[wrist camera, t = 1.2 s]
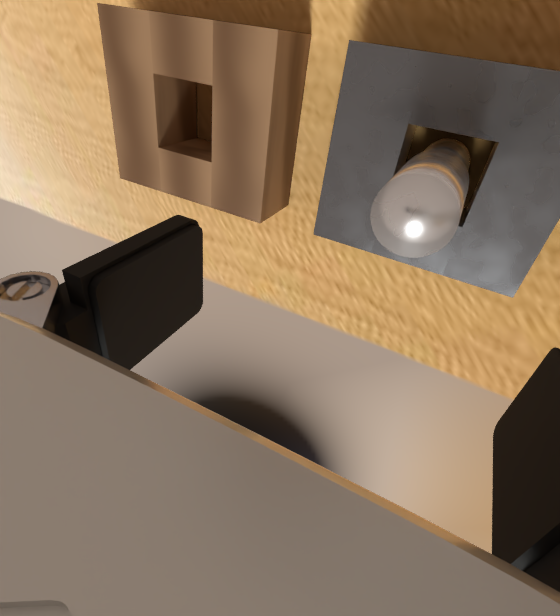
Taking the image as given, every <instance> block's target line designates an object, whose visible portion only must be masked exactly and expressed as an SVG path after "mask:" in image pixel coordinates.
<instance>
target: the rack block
mask: <svg viewBox="0 0 560 616" xmlns="http://www.w3.org/2000/svg"><path fill="white" fill-rule="evenodd" d="M97 5H98V13H99V20H100V28H101V35H102V43H103V51H104V58H105V66H106V73H107V81H108V89H109V96H110V104H111V112H112V119H113V127H114V134H115V142H116V150H117V157H118V165H119V172H120V178H121V179H125V180H128V181H131V182H134V183H137V184H140V185H143V186H146V187H149V188H152V189H155V190H159V191H162V192H165V193H168V194H171V195H174V196H177V197H180V198H183V199H186V200H190V201H193V202H196V203H199V204H202V205H205V206H208V207H211V208H214V209H217V210H220V211H224V212H227V213H230V214H233V215H236V216H239V217H242V218H245V219H248V220H251V221H255V222H258V223H262V222H263V221H265V220H266V219H268V218H269V217H271V216H272V215H274V214H275V213H277V212H278V211H280V210H281V209H283V208H284V207H286V206H287V205H288V203H289V195H290V188H291V180H292V173H293V166H294V158H295V151H296V143H297V136H298V129H299V121H300V114H301V106H302V99H303V92H304V84H305V77H306V69H307V62H308V55H309V47H310V40H311V34H305V33H298V32H292V31H285V30H278V29H271V28H264V27H258V26H251V25H244V24H237V23H230V22H224V21H217V20H210V19H203V18H196V17H190V16H183V15H176V14H169V13H162V12H156V11H149V10H142V9H135V8H128V7H121V6H114V5H107V4H100V3H97ZM196 82H198V83H202V84H207V85H212V142H211V141H207V140H203V139H199V138H197V95H196Z"/></svg>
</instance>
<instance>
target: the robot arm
mask: <svg viewBox="0 0 560 616" xmlns="http://www.w3.org/2000/svg"><path fill="white" fill-rule="evenodd" d="M62 272H63V276H64V279H65V282H64V283H62V284H60V285H59V283H58V280H57V279H56V278H55V277H54V276H53V275H51V274H49V273H44V272H36V271H30V272H20V273H16V274H12V275H9V276H6V277H4V278H1V279H0V616H560V349H559V348H556V347H555V348H553V349H551V351H550V352H549V353H548V354H547V356H546V357H545V358H544V360H543V361H542V362H541V364H540V365H539V367H538V368H537V369H536V371H535V372H534V373H533V375H532V376H531V377H530V379H529V380H528V382H527V383H526V384H525V386H524V387H523V388H522V390H521V391H520V392H519V394H518V395H517V397H516V398H515V399H514V401H513V402H512V403H511V405H510V406H509V407H508V409H507V410H506V412H505V413H504V414H503V416H502V417H501V418H500V420H499V421H498V423H497V425H496V427H495V430H494V435H493V508H492V511H493V512H492V554H490V553H488V552H486V551H485V550H483V549H481V548H479V547H477V546H475V545H473V544H471V543H469V542H467V541H465V540H464V539H462V538H460V537H458V536H456V535H454V534H452V533H450V532H448V531H447V530H445V529H443V528H441V527H439V526H437V525H435V524H433V523H431V522H429V521H428V520H425V519H424V518H422V517H420V516H418V515H416V514H414V513H412V512H410V511H408V510H406V509H404V508H402V507H401V506H399V505H397V504H395V503H393V502H390V501H389V500H387V499H385V498H383V497H381V496H379V495H377V494H375V493H373V492H371V491H369V490H367V489H365V488H363V487H361V486H359V485H357V484H355V483H353V482H351V481H349V480H347V479H345V478H343V477H341V476H339V475H337V474H336V473H334V472H332V471H330V470H328V469H326V468H323V467H322V466H320V465H318V464H316V463H314V462H312V461H310V460H308V459H306V458H304V457H302V456H300V455H298V454H296V453H294V452H292V451H290V450H288V449H286V448H284V447H282V446H280V445H278V444H276V443H274V442H272V441H270V440H268V439H266V438H264V437H262V436H260V435H258V434H256V433H254V432H252V431H250V430H248V429H246V428H244V427H243V426H241V425H238V424H237V423H234V422H232V421H231V420H229V419H227V418H225V417H222V416H220V415H218V414H217V413H215V412H213V411H210V410H208V409H206V408H204V407H202V406H200V405H199V404H197V403H195V402H192V401H190V400H189V399H187V398H185V397H183V396H181V395H178V394H177V393H175V392H172V391H171V390H169V389H167V388H165V387H162V386H160V385H158V384H156V383H154V382H152V381H150V380H148V379H146V378H144V377H142V376H140V375H138V374H136V373H134V372H132V371H130V369H131V368H133V367H134V366H135V365H136V364H137V363H139V362H140V361H141V360H142V359H143V358H145V357H146V356H147V355H148V354H149V353H151V352H152V351H153V350H154V349H155V348H157V347H158V346H159V345H160V344H161V343H162V342H164V341H165V340H166V339H167V338H168V337H170V336H171V335H172V334H173V333H174V332H176V331H177V330H178V329H179V328H180V327H182V326H183V325H184V324H185V323H186V322H187V321H189V320H190V319H191V318H192V317H193V316H195V315H196V314H197V313H198V312H199V311H200V309H201V307H202V304H203V233H202V229H201V228H200V227H199V225H198V222H197V221H196V220H193V219H190V218H187V217H184V216H181V215H176V216H173V217H171V218H169V219H167V220H165V221H163V222H161V223H159V224H157V225H155V226H153V227H151V228H149V229H146V230H144V231H142V232H140V233H138V234H136V235H134V236H132V237H130V238H128V239H126V240H124V241H121V242H119V243H117V244H115V245H113V246H111V247H109V248H107V249H105V250H103V251H101V252H99V253H97V254H95V255H92V256H90V257H88V258H86V259H84V260H82V261H80V262H78V263H76V264H74V265H71V266H69V267H67V268H65V269H63V270H62Z"/></svg>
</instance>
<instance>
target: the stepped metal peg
mask: <svg viewBox="0 0 560 616" xmlns="http://www.w3.org/2000/svg"><path fill="white" fill-rule="evenodd" d="M469 166H470V154H469V151H468V149H467V148H466V146H465V145H464V144H463V143H462V142H460V141H458V140H456V139H451V138H445V139H440V140H437V141H435V142H433V143H432V144H431V145H429V146H428V147H427V148H426V149H425V151H423V152H421V153H419V154H417V155H415V156H414V157H412V158H411V159H410V160H409V161H408V162H407V163H406V164H405V165H404V166H403V167H402V168H401V169H400V170H399V171H398V172H397V173H396V174H395V175H394V176H393V177H392V178H391V180H390V181H389V182H388V183H387V184H386V185H385V186H384V187H383V188H382V189H381V190H380V191H379V193H378V194H377V196H376V197H375V199H374V201H373V204H372V208H371V214H370V220H371V226H372V230H373V232H374V234H375V236H376V238H377V240H378V241H379V242H380V243H381V244H382V245H383V246H384V247H385V248H386V249H387V250H389V251H390V252H392V253H394V254H397V255H399V256H403V257H409V258H418V257H424V256H428V255H431V254H433V253H435V252H437V251H439V250H440V249H442V248H443V247H444V246H446V245H447V244H448V243H449V241H450V240H451V239H452V238H453V236H454V234H455V232H456V230H457V228H458V225H459V221H460V217H461V214H462V210H463V206H464V203H465V199H466V195H467V192H468V187H469V174H468V169H469Z"/></svg>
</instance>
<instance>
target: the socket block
mask: <svg viewBox="0 0 560 616" xmlns="http://www.w3.org/2000/svg"><path fill="white" fill-rule="evenodd" d="M417 126H422V127H427V128H432V129H437V130H441V131H446V132H451V133H456V134H461V135H466V136H471V137H475V138H480V139H485V140H490V141H495V144H494V147H493V149H492V151H491V154H490V156H489V158H488V161H487V163H486V165H485V168H484V170H483V172H482V175H481V177H480V179H479V182H478V184H477V186H476V189H475V191H474V193H473V196H472V198H471V200H470V203H469V205H468V207H467V208H463V210H462V214H461V217H460V221H459V225H458V228H457V230H456V232H455V234H454V236H453V238H452V239H451V240H450V241H449V243H448V244H447V245H446V246H444V247H443V248H442V249H440V250H439V251H437V252H435V253H433V254H431V255H428V256H424V257H418V258H409V257H403V256H399V255H397V254H394V253H392V252H390V251H389V250H387V249H386V248H385V247H384V246H383V245H382V244H381V243H380V242H379V241H378V240H377V238H376V236H375V234H374V232H373V230H372V226H371V220H370V214H371V208H372V204H373V201H374V199H375V197H376V196H377V194H378V193H379V191H380V190H381V189H382V188H383V187H384V186H385V185H386V184H387V183H388V182H389V181H390V180H391V178H392V177H393V176H394V175H395V174H396V173H397V172H398V171H399V170H400V169H401V168H402V167H403V166H404V165H405V163H406V160H407V157H408V153H409V150H410V147H411V143H412V140H413V137H414V134H415V130H416V127H417ZM559 218H560V71H556V70H549V69H543V68H536V67H529V66H522V65H515V64H509V63H502V62H495V61H488V60H481V59H475V58H468V57H461V56H454V55H447V54H441V53H434V52H427V51H420V50H413V49H407V48H400V47H393V46H386V45H379V44H373V43H366V42H359V41H352V40H349V45H348V50H347V56H346V61H345V67H344V72H343V77H342V83H341V88H340V94H339V99H338V104H337V110H336V115H335V121H334V126H333V131H332V137H331V142H330V148H329V153H328V158H327V164H326V169H325V175H324V180H323V185H322V191H321V196H320V202H319V207H318V212H317V218H316V223H315V229H314V235H317V236H321V237H324V238H327V239H330V240H333V241H336V242H339V243H343V244H346V245H349V246H352V247H355V248H358V249H361V250H365V251H368V252H371V253H374V254H377V255H380V256H383V257H387V258H390V259H393V260H396V261H399V262H402V263H406V264H409V265H412V266H415V267H418V268H421V269H424V270H428V271H431V272H434V273H437V274H440V275H443V276H446V277H450V278H453V279H456V280H459V281H462V282H465V283H468V284H472V285H475V286H478V287H481V288H484V289H487V290H491V291H494V292H497V293H500V294H503V295H506V296H509V297H514V295H515V293H516V291H517V290H518V288H519V286H520V285H521V283H522V281H523V280H524V278H525V276H526V274H527V273H528V271H529V269H530V268H531V266H532V264H533V263H534V261H535V259H536V257H537V256H538V254H539V252H540V251H541V249H542V247H543V246H544V244H545V242H546V240H547V239H548V237H549V235H550V234H551V232H552V230H553V229H554V227H555V225H556V223H557V222H558V220H559Z"/></svg>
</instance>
